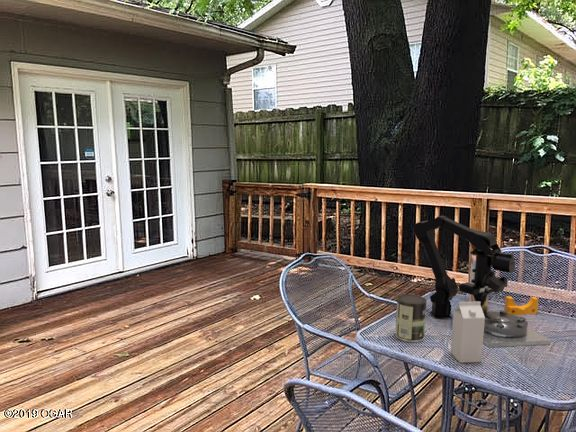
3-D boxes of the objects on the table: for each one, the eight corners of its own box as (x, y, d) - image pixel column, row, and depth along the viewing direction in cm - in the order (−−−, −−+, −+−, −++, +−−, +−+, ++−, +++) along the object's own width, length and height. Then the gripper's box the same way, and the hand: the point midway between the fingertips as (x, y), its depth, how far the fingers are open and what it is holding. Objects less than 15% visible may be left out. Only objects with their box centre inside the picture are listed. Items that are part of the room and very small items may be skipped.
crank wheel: (536, 330, 172) (539, 306, 170) (508, 341, 163) (510, 315, 162) (494, 315, 186) (496, 293, 185) (466, 324, 177) (468, 300, 176)
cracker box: (487, 313, 194) (491, 263, 190) (471, 312, 195) (475, 262, 192) (482, 302, 207) (485, 255, 204) (467, 300, 208) (471, 254, 205)
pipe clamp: (509, 315, 193) (510, 299, 192) (504, 311, 197) (505, 296, 196) (539, 315, 192) (540, 300, 191) (533, 311, 197) (535, 296, 195)
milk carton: (450, 353, 158) (454, 298, 155) (471, 352, 158) (475, 297, 155) (459, 363, 151) (464, 306, 148) (481, 362, 151) (486, 305, 148)
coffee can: (423, 332, 175) (425, 295, 172) (425, 343, 165) (427, 304, 162) (394, 329, 177) (396, 293, 174) (395, 341, 167) (396, 302, 164)
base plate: (488, 347, 162) (489, 334, 162) (456, 321, 185) (457, 310, 184) (550, 344, 165) (551, 332, 164) (511, 319, 188) (512, 308, 187)
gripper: (486, 276, 164) (482, 319, 167) (518, 269, 174) (514, 310, 176) (459, 268, 174) (456, 309, 176) (491, 262, 183) (488, 301, 186)
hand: (479, 307), depth 178 cm, fingers closed
